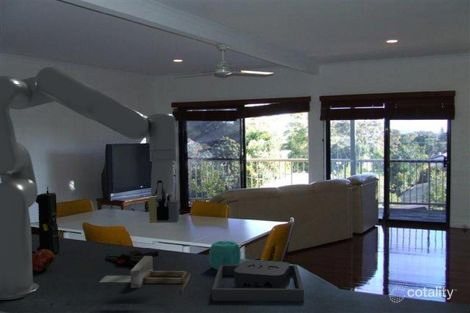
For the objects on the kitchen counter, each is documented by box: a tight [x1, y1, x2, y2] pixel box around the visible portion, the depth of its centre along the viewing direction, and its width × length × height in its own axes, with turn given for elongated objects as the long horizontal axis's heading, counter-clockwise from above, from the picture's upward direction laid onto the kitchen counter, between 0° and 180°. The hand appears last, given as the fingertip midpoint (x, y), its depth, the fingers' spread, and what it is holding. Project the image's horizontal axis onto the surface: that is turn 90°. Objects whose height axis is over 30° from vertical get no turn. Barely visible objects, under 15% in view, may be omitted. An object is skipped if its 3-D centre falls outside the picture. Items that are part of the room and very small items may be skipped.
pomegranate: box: [32, 249, 56, 273], centre depth 154 cm, size 7×7×10 cm
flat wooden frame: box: [98, 256, 191, 294], centre depth 139 cm, size 26×16×6 cm, turn 87°
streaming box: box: [233, 259, 291, 289], centre depth 138 cm, size 14×14×5 cm
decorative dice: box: [208, 240, 242, 271], centre depth 156 cm, size 8×8×8 cm
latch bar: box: [148, 196, 180, 224], centre depth 138 cm, size 8×4×7 cm, turn 87°
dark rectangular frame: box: [211, 264, 305, 302], centre depth 135 cm, size 24×24×3 cm
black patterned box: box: [104, 249, 159, 267], centre depth 160 cm, size 5×20×15 cm
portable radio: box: [35, 186, 60, 255], centre depth 175 cm, size 8×6×25 cm
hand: (164, 218), depth 138 cm, fingers closed on latch bar, 3 cm apart
